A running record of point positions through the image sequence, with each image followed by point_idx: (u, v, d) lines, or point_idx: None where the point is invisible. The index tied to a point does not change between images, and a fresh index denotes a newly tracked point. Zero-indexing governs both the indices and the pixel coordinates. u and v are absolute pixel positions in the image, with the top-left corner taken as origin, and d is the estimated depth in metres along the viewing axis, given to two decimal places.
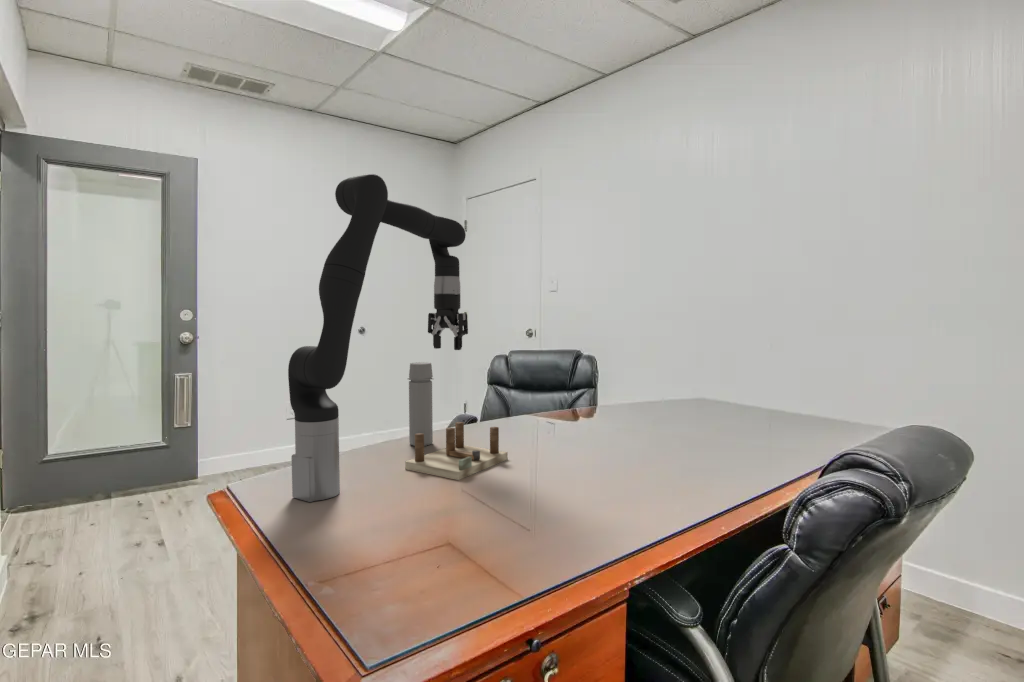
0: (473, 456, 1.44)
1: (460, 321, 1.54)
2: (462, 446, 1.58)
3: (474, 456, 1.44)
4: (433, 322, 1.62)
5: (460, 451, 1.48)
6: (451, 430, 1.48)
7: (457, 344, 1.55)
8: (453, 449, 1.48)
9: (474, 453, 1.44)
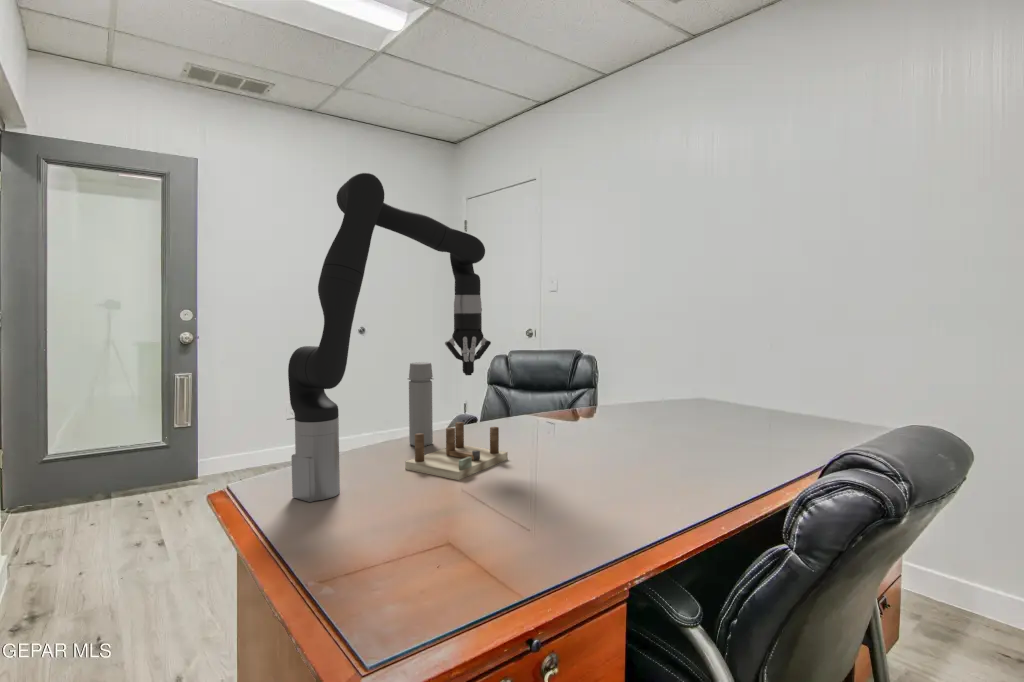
0: (473, 456, 1.44)
1: None
2: (462, 446, 1.58)
3: (474, 456, 1.44)
4: (481, 347, 1.52)
5: (460, 451, 1.48)
6: (451, 430, 1.48)
7: None
8: (453, 449, 1.48)
9: (474, 453, 1.44)
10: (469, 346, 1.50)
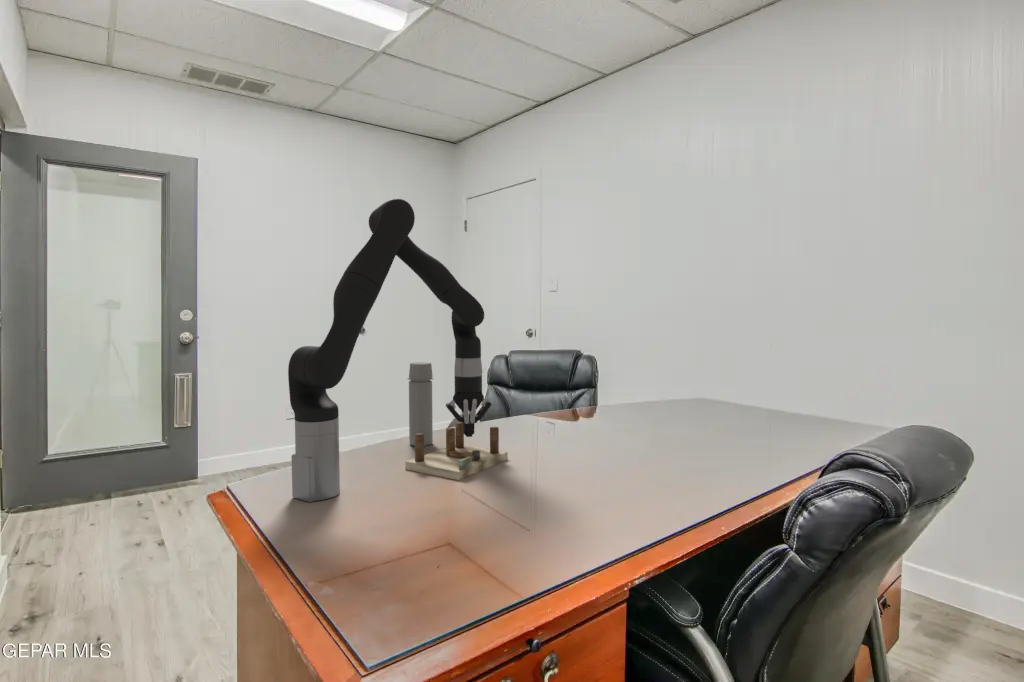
0: (473, 456, 1.44)
1: None
2: (462, 446, 1.58)
3: (474, 456, 1.44)
4: (481, 408, 1.54)
5: (460, 451, 1.48)
6: (451, 430, 1.48)
7: None
8: (453, 449, 1.48)
9: (474, 453, 1.44)
10: (470, 408, 1.51)
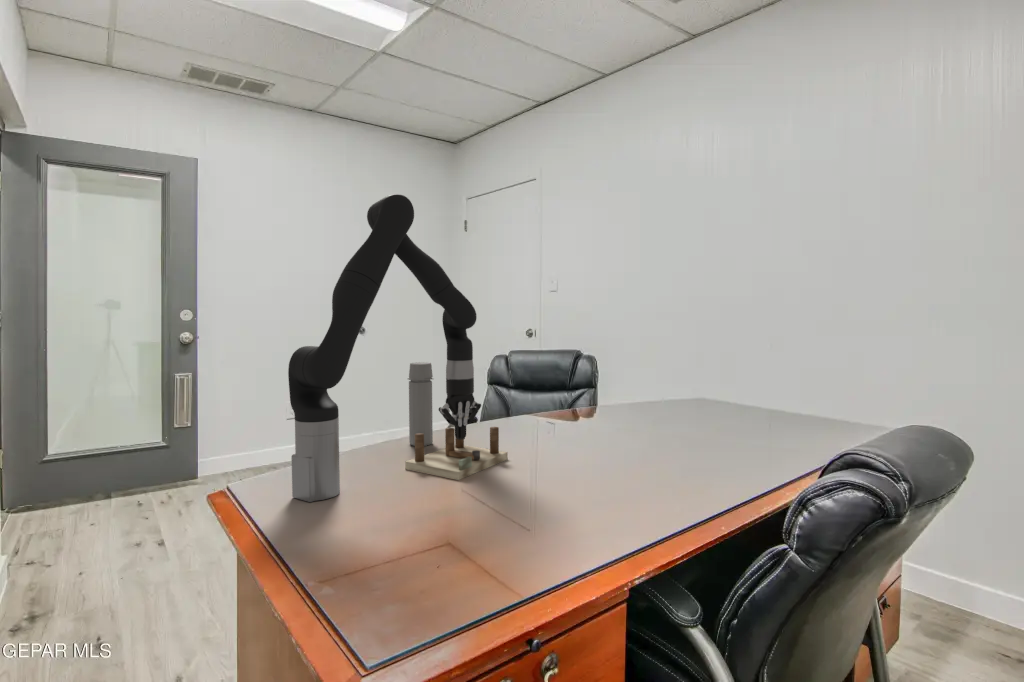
0: (473, 456, 1.44)
1: None
2: (462, 446, 1.58)
3: (474, 456, 1.44)
4: (471, 410, 1.53)
5: (460, 451, 1.47)
6: (451, 430, 1.48)
7: None
8: (452, 449, 1.48)
9: (474, 453, 1.44)
10: (462, 411, 1.50)
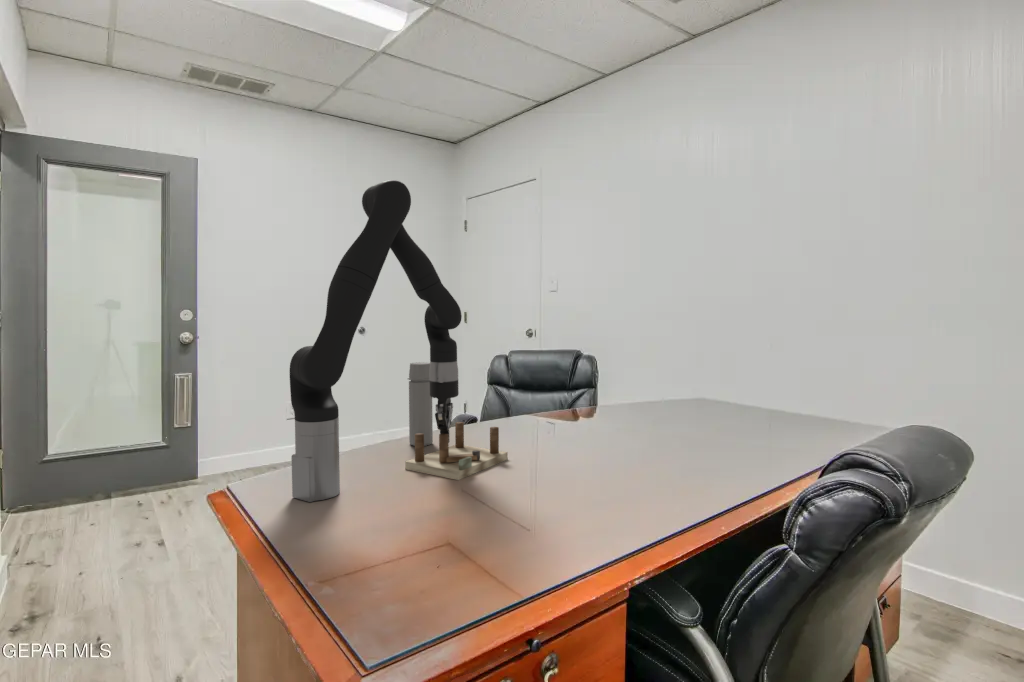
0: (476, 456, 1.44)
1: None
2: (462, 446, 1.58)
3: (477, 456, 1.44)
4: None
5: (456, 455, 1.43)
6: (447, 435, 1.41)
7: None
8: (448, 455, 1.42)
9: (477, 453, 1.44)
10: None
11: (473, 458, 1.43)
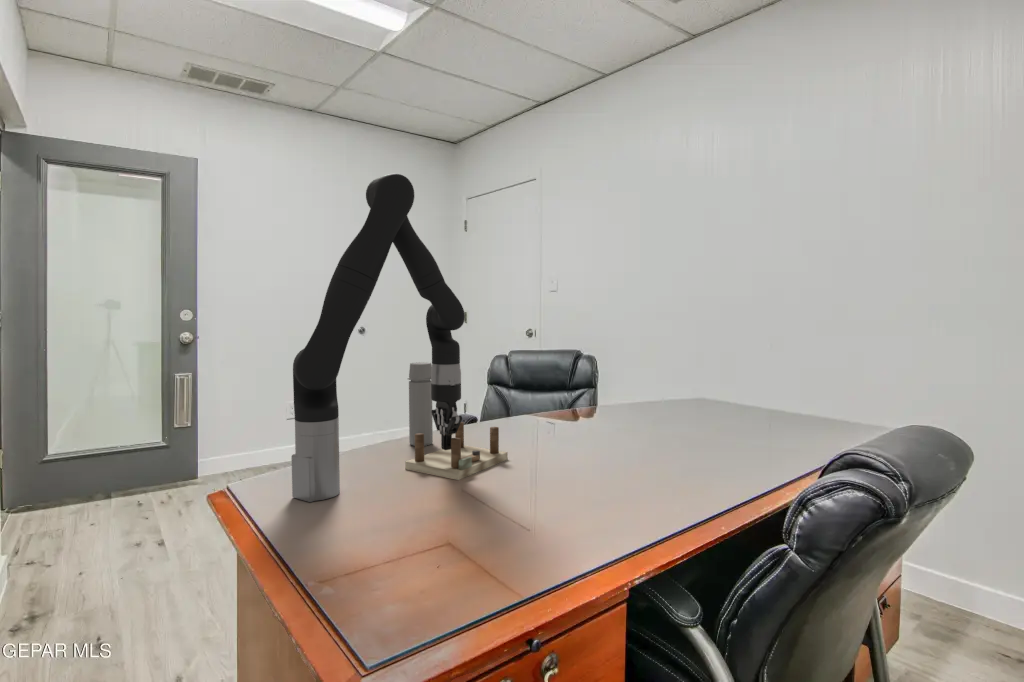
0: (479, 456, 1.44)
1: (450, 424, 1.35)
2: (462, 446, 1.58)
3: (479, 455, 1.44)
4: None
5: None
6: None
7: (445, 444, 1.39)
8: None
9: (479, 452, 1.44)
10: None
11: (477, 458, 1.43)
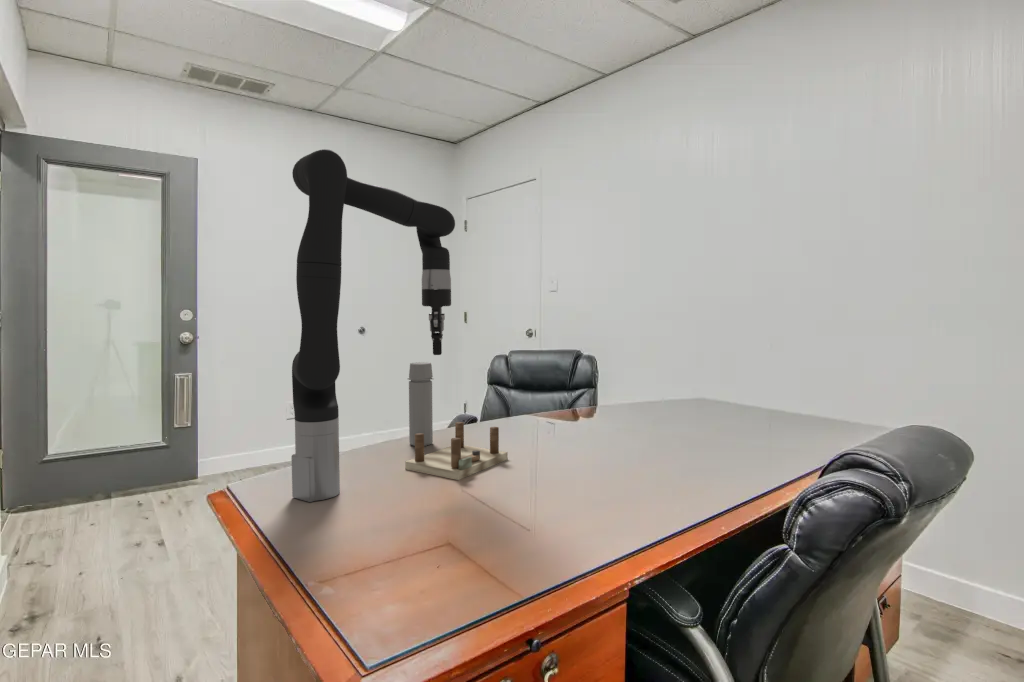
0: (479, 456, 1.44)
1: (431, 327, 1.39)
2: (462, 446, 1.58)
3: (479, 455, 1.44)
4: None
5: None
6: None
7: (434, 348, 1.42)
8: None
9: (479, 452, 1.44)
10: None
11: (477, 458, 1.43)
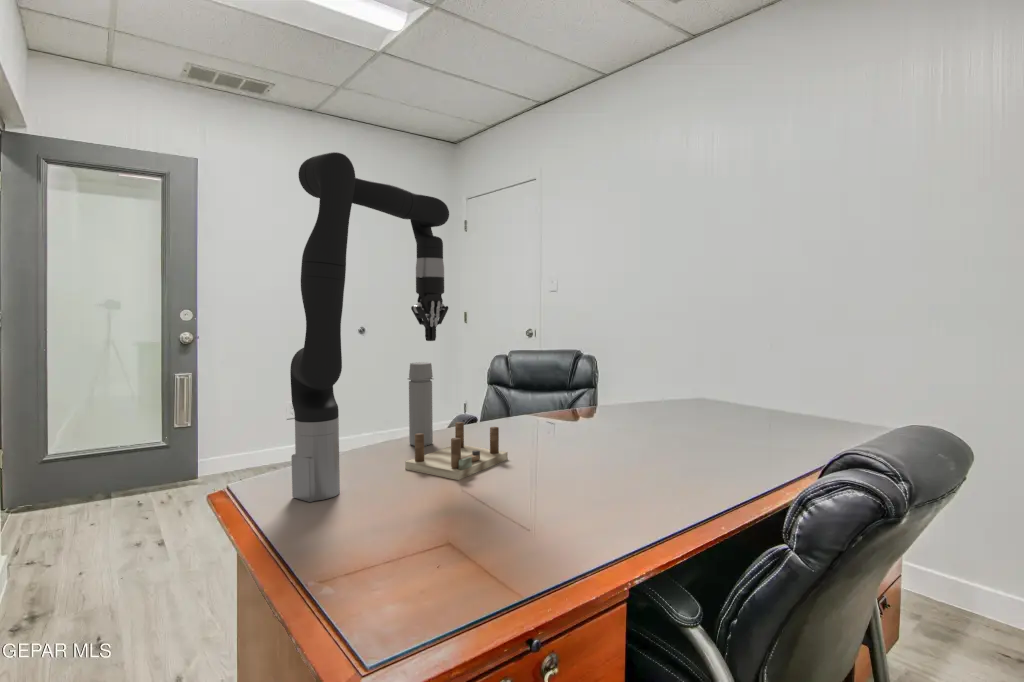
0: (479, 456, 1.44)
1: None
2: (462, 446, 1.58)
3: (479, 455, 1.44)
4: (439, 313, 1.51)
5: None
6: None
7: None
8: None
9: (479, 452, 1.44)
10: (433, 311, 1.48)
11: (477, 458, 1.43)
